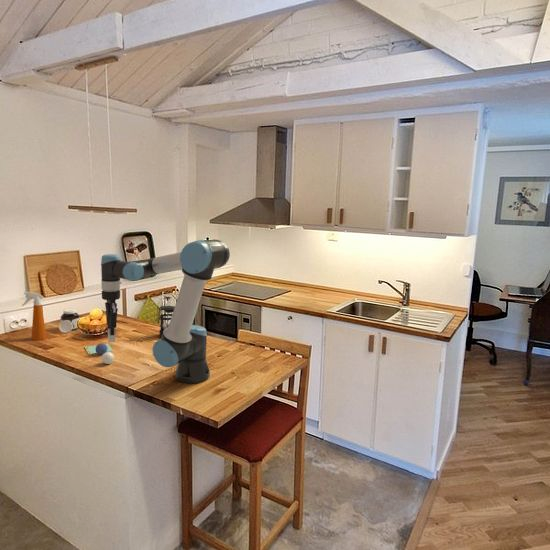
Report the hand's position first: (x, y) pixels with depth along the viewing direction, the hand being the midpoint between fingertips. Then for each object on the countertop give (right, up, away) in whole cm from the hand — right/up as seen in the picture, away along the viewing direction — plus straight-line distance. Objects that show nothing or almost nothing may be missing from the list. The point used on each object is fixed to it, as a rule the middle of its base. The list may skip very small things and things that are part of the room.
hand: (111, 341), depth 183 cm
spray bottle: (-57, -5, +39) cm, 69 cm away
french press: (+11, -6, +54) cm, 56 cm away
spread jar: (-47, -3, +56) cm, 73 cm away
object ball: (-13, -7, +21) cm, 26 cm away
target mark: (-18, -8, +28) cm, 34 cm away
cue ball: (-5, -9, +9) cm, 14 cm away
